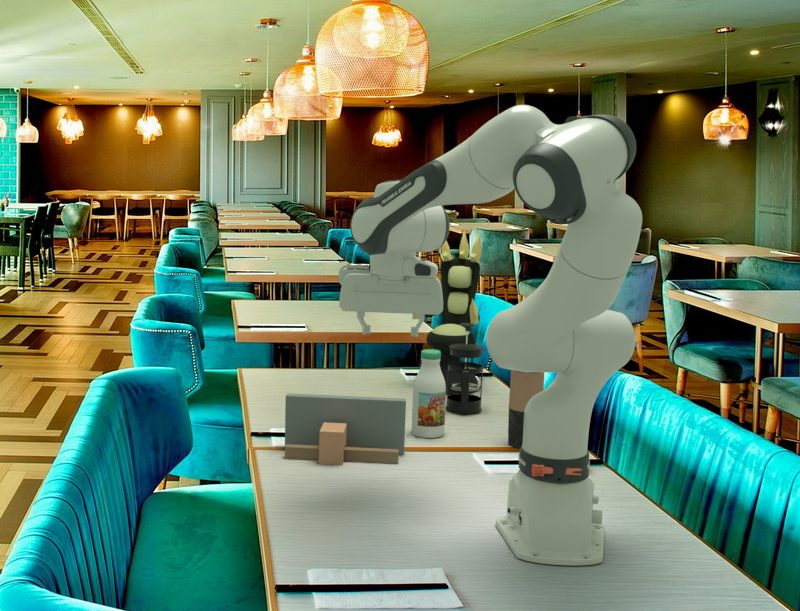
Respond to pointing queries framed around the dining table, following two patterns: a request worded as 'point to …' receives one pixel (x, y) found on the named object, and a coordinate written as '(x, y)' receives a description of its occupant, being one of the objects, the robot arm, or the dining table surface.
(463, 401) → the french press
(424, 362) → the milk bottle
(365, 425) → the cleat board
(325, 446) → the block
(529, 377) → the travel mug
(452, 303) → the miniature padded chair
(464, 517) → the dining table surface
